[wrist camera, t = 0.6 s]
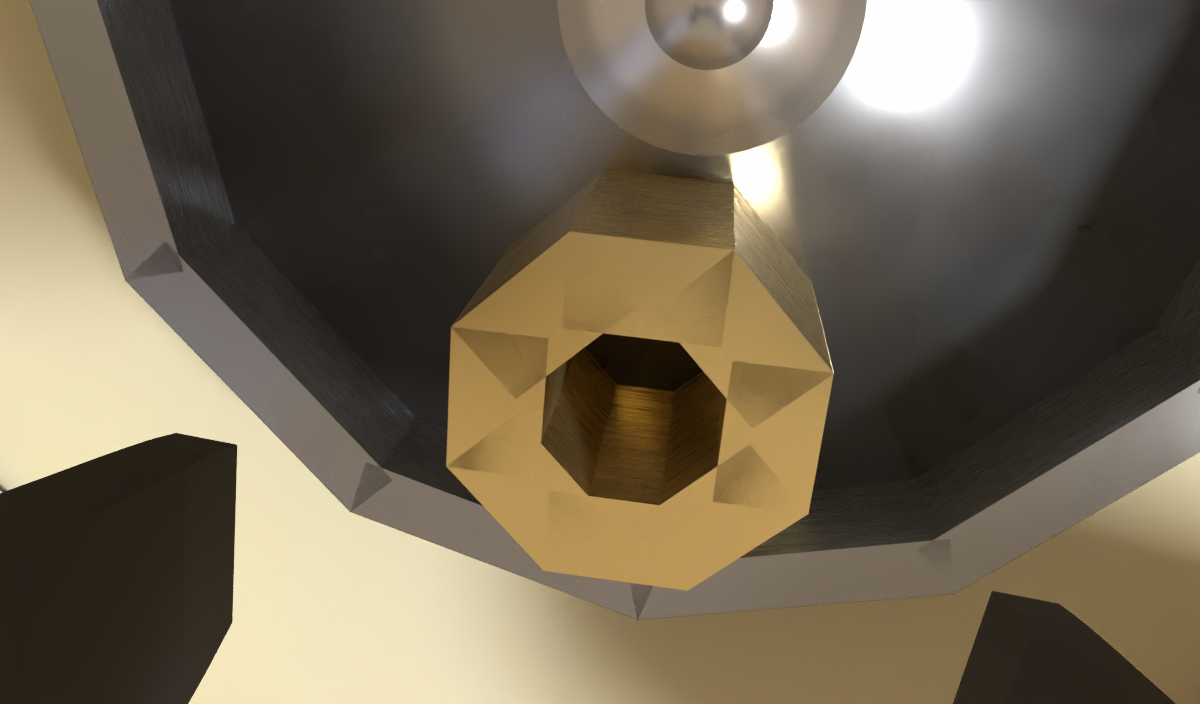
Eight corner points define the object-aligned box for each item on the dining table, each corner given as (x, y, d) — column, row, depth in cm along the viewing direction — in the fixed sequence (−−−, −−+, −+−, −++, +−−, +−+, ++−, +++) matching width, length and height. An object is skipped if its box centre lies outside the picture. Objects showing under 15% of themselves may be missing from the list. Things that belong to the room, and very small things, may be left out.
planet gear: (632, 506, 19) (608, 641, 15) (446, 298, 18) (373, 388, 14) (864, 347, 18) (900, 455, 14) (676, 110, 16) (660, 157, 13)
